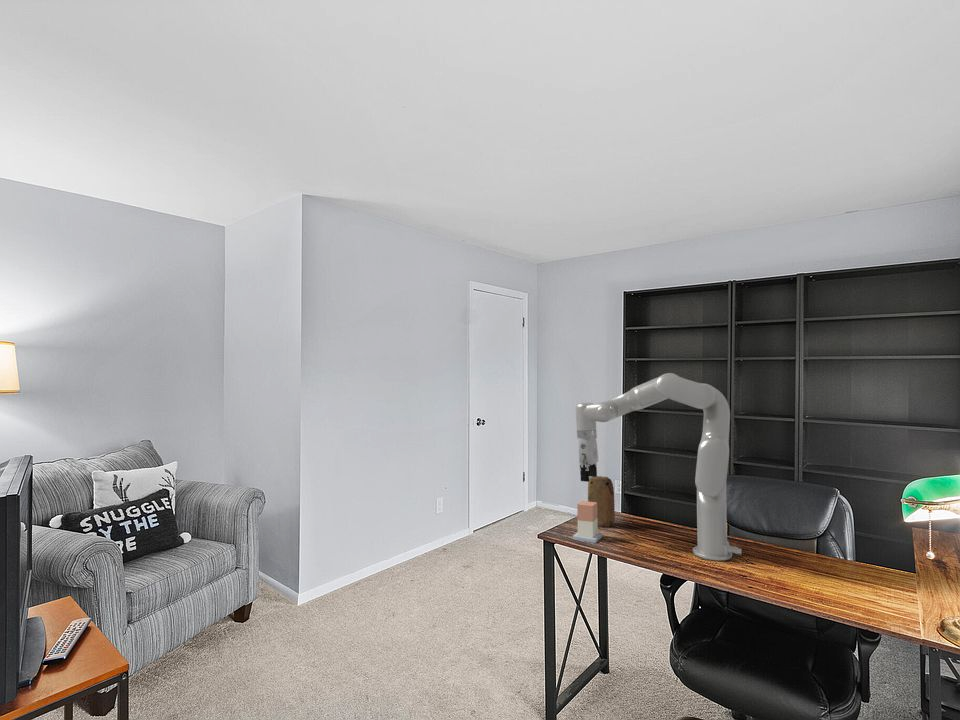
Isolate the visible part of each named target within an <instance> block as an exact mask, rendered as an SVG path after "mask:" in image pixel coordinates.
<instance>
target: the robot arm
mask: <svg viewBox="0 0 960 720" xmlns="http://www.w3.org/2000/svg"><path fill="white" fill-rule="evenodd" d="M668 399H669V400H672V401H674V402H677V403H680V404H684V405H687V406H690V407H692V408H695V409H700V410H703V420H702V432H701V439H700V442H699V444H698V449H697V457H696V458H697V459H696V466H695V478H694V482H695V488H696V527H697V528H696V531H697V537H696V538H697V541H696V542H697V543H696V544H697V545H696V546H694V547H692V553H693V554H694V555H695V556H696V557H700V558H702V559H705V560H709V561H729V560H731V559H732V558H733V554H735V555H742V548H739V547H738V546H733V545H731V544H730V541H728V533H727V532H728V525H727V522H728V521H727V520H728V519H727V516H728V515H727V510H728V509H727V477H728V467H729V458H730V446H729V444H730V443H729V439H730V438H729V437H730V424H731V423H730V421H731V410H730V406H729V405H730V404H729V403H728V401H727V399H726V397H725V396H724V395H723V393H722V392H721V391H720V390H719V389H717V388H716V387H714V386H712V385H711V384H708V383H704V382H703V383H702V382H701V383H700V382H696V381H693V380H690V379H686V378H684V377H681V376H679V375H678V374H675V373H673V372H668V373H664V374H663V373H662V374H661V375H660V376H658V377H655V378H653V379H650V380H647V381H646V382H643V383H641V384H639V385H636V386H634V387H632V388H631V389H629V390H628V391H627V392H625V393H623V394H620V395H618V396H616V397H614V398H610V399H608V400H606V401H601V402H599V403H598V402H597V403H593V402H579V403H577V404H576V405H575V419H576V420H575V422H576V438H577V440H578V462H579V471H580V482H587V483H588V482H589V478H590V477H597V476H598V471H597V463H598V462H599V453H598V443H597V438H598V436H597V435H598V433H597V422H600V423H607V422H610V421H612V420H615V419H617V418H619V417H622V416H624V415H626V414H629V413H631V412H635V411H637V410H643V409H645V408H647V407H650V406H652V405H655V404H658V403H660V402H663V401H665V400H668Z"/></svg>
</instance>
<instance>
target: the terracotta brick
mask: <svg viewBox="0 0 960 720" xmlns="http://www.w3.org/2000/svg"><path fill="white" fill-rule="evenodd" d="M576 513H577V521H578V520H582V521H589V522H593V521H595V520H596V519H597V503H596V502H588V500H581V501H580V502H578V503H577V512H576Z"/></svg>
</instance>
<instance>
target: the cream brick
mask: <svg viewBox="0 0 960 720" xmlns="http://www.w3.org/2000/svg"><path fill="white" fill-rule="evenodd" d="M598 529H599V527H598V518H597V519H596V520H595V521H593V522H589V521H582V520H578V519H577V532H578V536H584V537H590V538H593V537H594V536H596V535H597V534H598V533H599V532H598Z"/></svg>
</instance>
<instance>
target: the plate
mask: <svg viewBox="0 0 960 720" xmlns="http://www.w3.org/2000/svg"><path fill="white" fill-rule="evenodd" d="M602 537H603V532H598V534H597V535H596V536H594V537H593V538H590V537H584V536H578V531H577V532H576V533H574V534H573V535H572V540H575V541H580V542H581V541H582V542H588V543H592V544H596V543H598V541H600V539H602Z"/></svg>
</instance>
